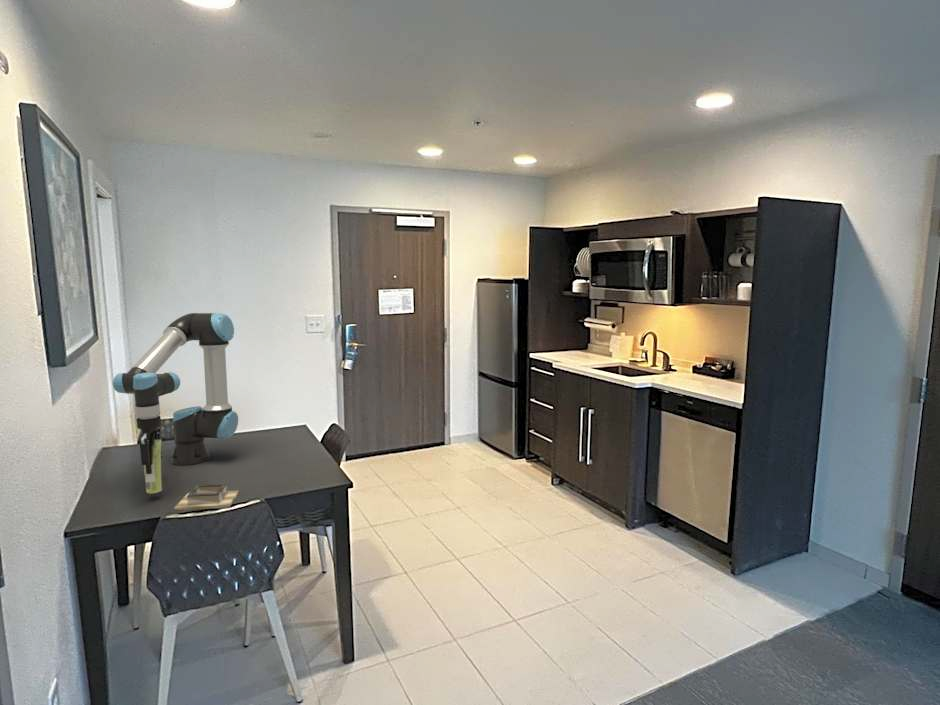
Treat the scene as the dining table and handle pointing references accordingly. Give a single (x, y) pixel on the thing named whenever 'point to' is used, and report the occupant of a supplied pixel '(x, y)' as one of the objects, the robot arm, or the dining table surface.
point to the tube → (155, 469)
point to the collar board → (207, 497)
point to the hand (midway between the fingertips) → (153, 478)
